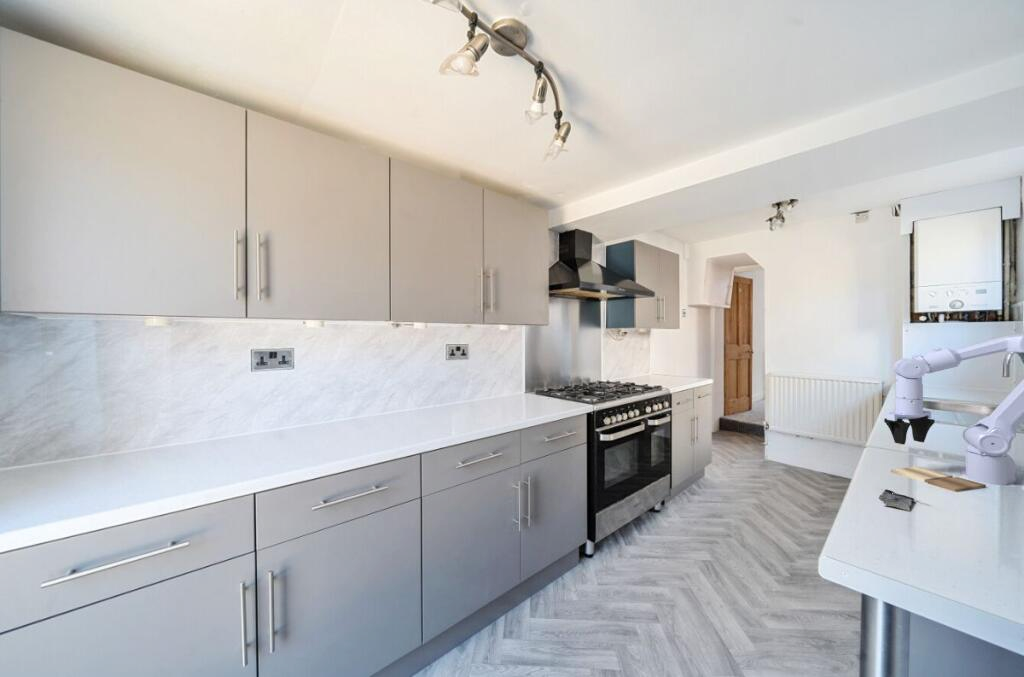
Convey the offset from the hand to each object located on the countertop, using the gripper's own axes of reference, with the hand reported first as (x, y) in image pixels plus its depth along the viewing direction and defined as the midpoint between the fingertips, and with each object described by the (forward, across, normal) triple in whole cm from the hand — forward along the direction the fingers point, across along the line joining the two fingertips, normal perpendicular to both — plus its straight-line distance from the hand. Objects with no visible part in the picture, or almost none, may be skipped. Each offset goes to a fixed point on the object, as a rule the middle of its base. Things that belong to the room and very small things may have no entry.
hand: (909, 442), depth 113 cm
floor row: (+9, +2, +7) cm, 12 cm away
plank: (+9, +2, +4) cm, 10 cm away
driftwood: (+10, +21, +11) cm, 26 cm away
